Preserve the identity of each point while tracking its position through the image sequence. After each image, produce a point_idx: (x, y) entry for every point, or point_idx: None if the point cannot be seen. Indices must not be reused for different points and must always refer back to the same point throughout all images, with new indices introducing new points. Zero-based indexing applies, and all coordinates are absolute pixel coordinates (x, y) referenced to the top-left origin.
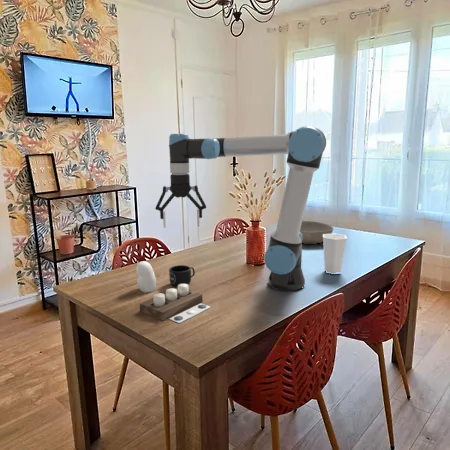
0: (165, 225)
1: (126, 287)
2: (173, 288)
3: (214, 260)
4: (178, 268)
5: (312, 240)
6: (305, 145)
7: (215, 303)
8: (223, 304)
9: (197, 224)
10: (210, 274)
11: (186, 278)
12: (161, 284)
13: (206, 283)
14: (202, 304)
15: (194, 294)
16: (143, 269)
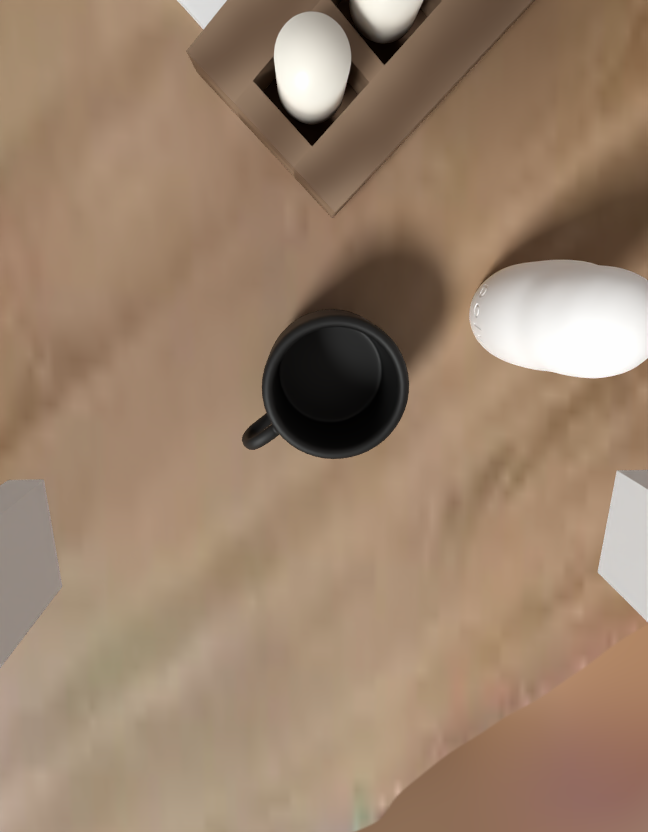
0: (640, 489)
1: None
2: (382, 2)
3: (143, 709)
4: (345, 441)
5: None
6: None
7: (115, 30)
8: (64, 4)
9: (47, 564)
10: (160, 504)
11: (292, 324)
12: (434, 380)
13: (179, 368)
14: (194, 7)
15: (238, 54)
16: (611, 268)
